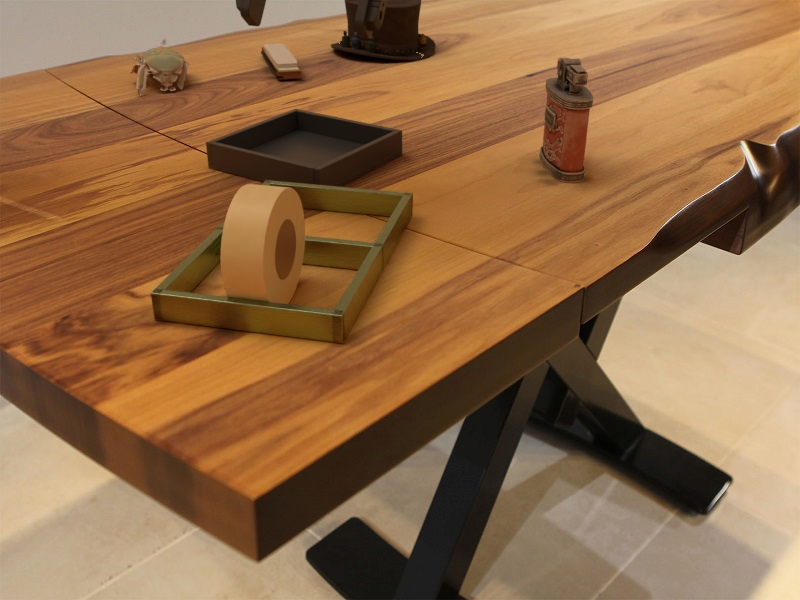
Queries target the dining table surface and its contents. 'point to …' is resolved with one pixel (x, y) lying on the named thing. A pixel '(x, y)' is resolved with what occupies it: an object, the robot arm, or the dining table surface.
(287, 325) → the rack
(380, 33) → the top hat
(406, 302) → the dining table surface
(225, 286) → the tape
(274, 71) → the harmonica
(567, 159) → the lighter
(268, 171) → the tray
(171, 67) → the crab toy
